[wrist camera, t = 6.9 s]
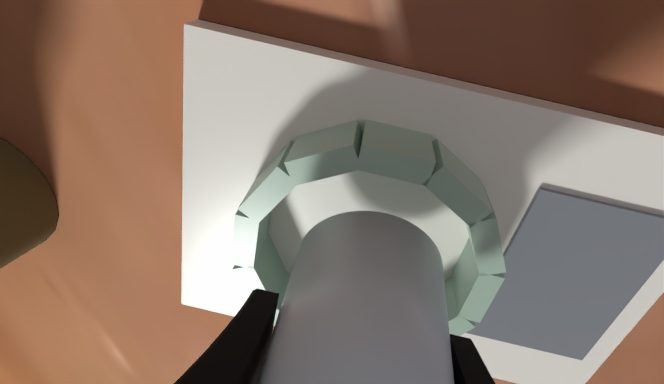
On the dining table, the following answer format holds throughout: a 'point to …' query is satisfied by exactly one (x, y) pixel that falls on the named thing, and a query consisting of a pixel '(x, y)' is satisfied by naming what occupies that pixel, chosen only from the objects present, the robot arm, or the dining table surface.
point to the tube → (362, 307)
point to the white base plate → (422, 193)
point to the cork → (23, 205)
